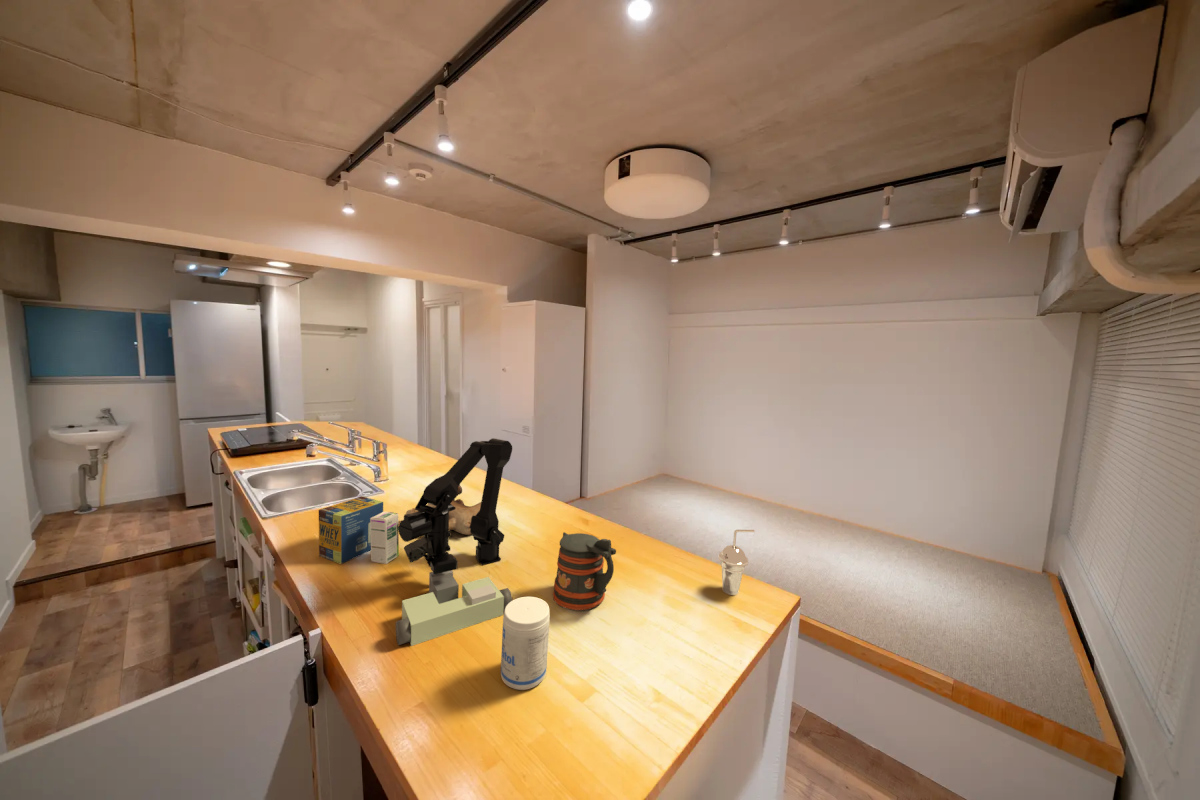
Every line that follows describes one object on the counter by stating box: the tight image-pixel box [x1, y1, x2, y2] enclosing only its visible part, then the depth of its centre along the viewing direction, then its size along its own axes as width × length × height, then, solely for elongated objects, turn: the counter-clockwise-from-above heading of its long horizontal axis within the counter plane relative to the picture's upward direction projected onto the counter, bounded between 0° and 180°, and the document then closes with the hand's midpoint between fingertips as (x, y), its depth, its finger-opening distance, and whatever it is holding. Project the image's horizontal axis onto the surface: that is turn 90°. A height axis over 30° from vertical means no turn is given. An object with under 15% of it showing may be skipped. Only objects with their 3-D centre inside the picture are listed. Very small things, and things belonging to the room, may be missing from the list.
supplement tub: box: [500, 596, 551, 691], centre depth 85 cm, size 10×10×15 cm
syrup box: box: [370, 511, 400, 565], centre depth 129 cm, size 6×6×14 cm
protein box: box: [318, 495, 384, 565], centre depth 133 cm, size 10×15×16 cm
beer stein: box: [552, 532, 617, 611], centre depth 113 cm, size 19×15×20 cm
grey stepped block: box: [428, 570, 460, 604], centre depth 110 cm, size 6×8×6 cm
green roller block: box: [395, 576, 513, 647], centre depth 103 cm, size 27×11×6 cm, turn 126°
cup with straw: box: [717, 529, 756, 596], centre depth 121 cm, size 8×9×20 cm
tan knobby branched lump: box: [404, 484, 481, 535], centre depth 155 cm, size 13×31×25 cm
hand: (437, 581), depth 116 cm, fingers closed
